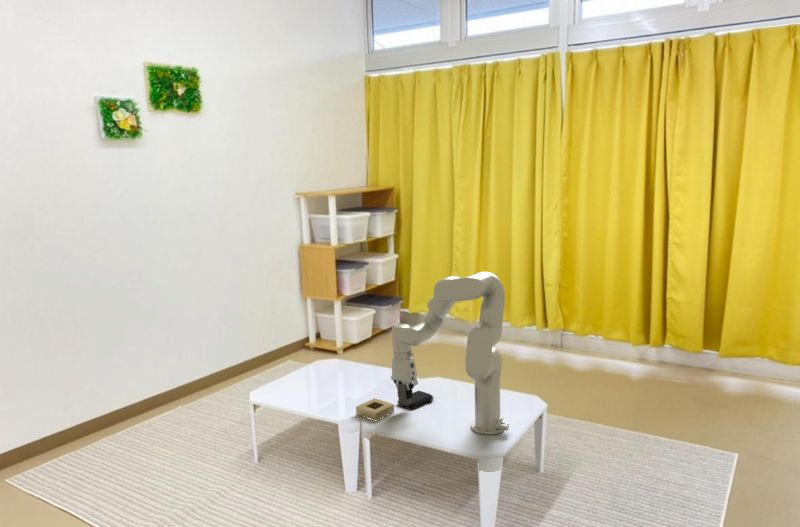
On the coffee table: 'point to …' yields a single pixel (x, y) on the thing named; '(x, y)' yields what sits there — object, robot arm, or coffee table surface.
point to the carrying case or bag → (419, 399)
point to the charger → (403, 394)
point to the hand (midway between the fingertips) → (405, 396)
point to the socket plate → (374, 409)
